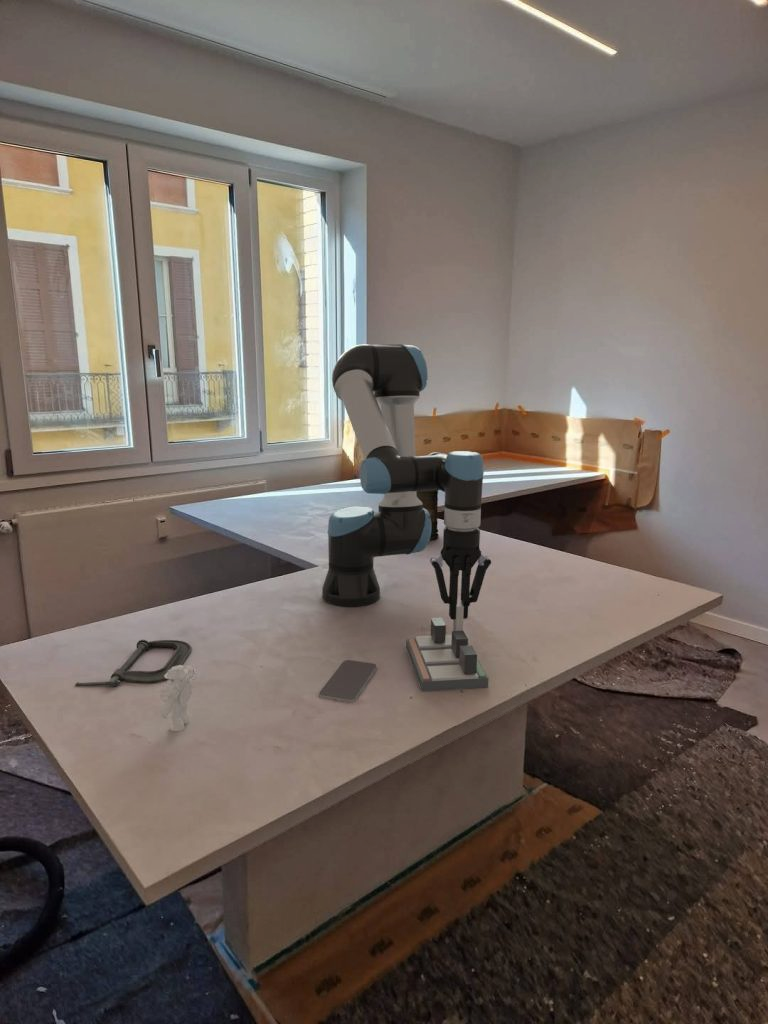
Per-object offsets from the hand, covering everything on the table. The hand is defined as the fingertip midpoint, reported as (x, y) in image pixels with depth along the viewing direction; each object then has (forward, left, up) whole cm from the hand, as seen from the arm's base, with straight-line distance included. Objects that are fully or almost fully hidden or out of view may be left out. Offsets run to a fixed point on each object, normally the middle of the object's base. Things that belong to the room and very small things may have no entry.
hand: (457, 632), depth 141 cm
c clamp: (-66, 0, -5) cm, 66 cm away
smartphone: (-24, -11, -5) cm, 27 cm away
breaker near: (-1, -14, -1) cm, 14 cm away
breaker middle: (-1, -7, -1) cm, 7 cm away
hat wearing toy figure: (-54, -23, -4) cm, 59 cm away
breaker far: (-4, 0, -1) cm, 5 cm away
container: (+10, +87, -4) cm, 87 cm away
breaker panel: (-4, -7, -4) cm, 9 cm away
